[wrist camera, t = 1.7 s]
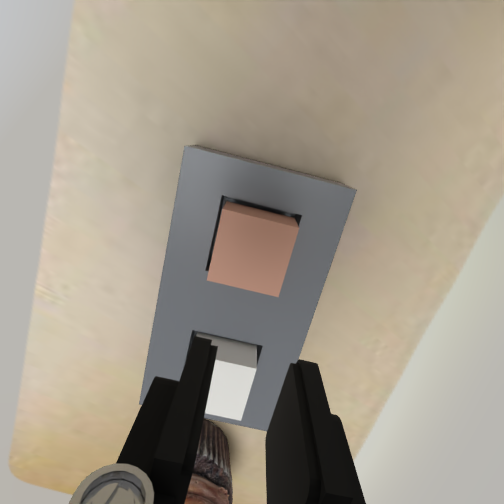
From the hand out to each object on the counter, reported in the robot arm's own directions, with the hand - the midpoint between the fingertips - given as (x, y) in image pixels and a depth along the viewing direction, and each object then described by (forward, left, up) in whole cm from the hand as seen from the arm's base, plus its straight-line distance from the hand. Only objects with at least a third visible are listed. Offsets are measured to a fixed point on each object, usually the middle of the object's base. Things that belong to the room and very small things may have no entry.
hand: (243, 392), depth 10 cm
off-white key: (+11, 0, -16) cm, 19 cm away
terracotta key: (0, 0, -16) cm, 16 cm away
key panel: (+6, 0, -19) cm, 20 cm away
